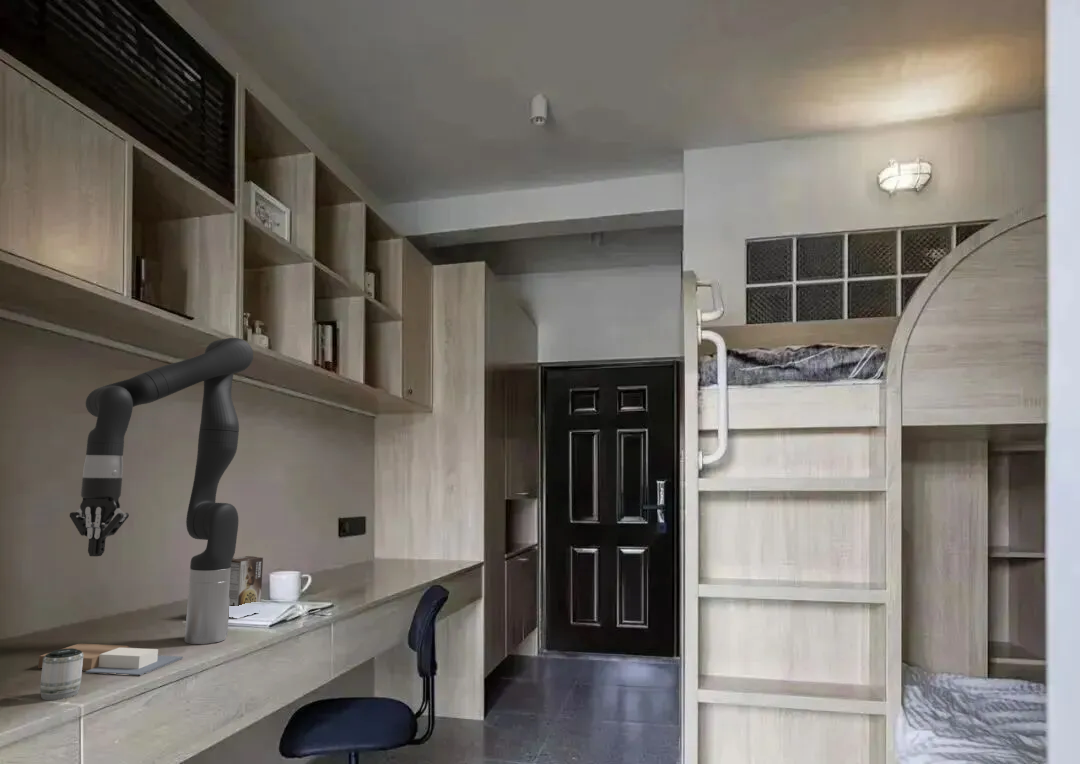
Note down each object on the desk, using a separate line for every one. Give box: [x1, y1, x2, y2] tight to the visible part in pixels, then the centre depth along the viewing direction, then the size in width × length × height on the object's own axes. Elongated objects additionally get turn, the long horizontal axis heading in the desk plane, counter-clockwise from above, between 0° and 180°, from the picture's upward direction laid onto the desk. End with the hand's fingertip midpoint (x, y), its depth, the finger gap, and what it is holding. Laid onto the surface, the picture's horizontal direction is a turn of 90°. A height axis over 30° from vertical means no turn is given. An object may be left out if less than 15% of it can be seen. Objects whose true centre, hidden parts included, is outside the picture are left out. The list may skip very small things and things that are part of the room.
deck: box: [37, 643, 130, 670], centre depth 152 cm, size 11×12×2 cm
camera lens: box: [39, 648, 84, 701], centre depth 130 cm, size 6×6×8 cm
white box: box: [98, 647, 159, 669], centre depth 150 cm, size 6×9×2 cm, turn 84°
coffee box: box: [229, 555, 264, 606], centre depth 205 cm, size 9×6×16 cm
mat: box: [84, 654, 184, 676], centre depth 150 cm, size 14×12×1 cm
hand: (95, 555), depth 154 cm, fingers closed
